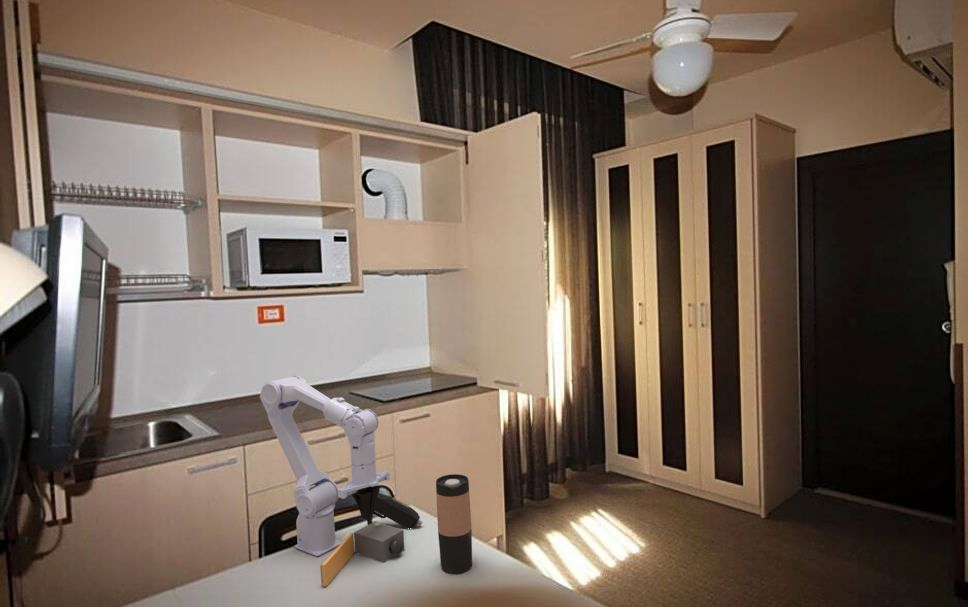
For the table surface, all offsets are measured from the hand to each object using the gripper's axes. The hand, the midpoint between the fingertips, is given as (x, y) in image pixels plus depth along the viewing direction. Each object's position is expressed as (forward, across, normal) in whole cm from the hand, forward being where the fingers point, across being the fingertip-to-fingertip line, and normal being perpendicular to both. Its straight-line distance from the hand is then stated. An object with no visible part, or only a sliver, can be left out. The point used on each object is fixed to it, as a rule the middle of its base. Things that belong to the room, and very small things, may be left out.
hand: (366, 517), depth 130 cm
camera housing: (+9, +3, 0) cm, 10 cm away
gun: (+10, +15, +7) cm, 19 cm away
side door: (+9, -8, +1) cm, 12 cm away
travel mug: (+10, +8, -21) cm, 25 cm away
